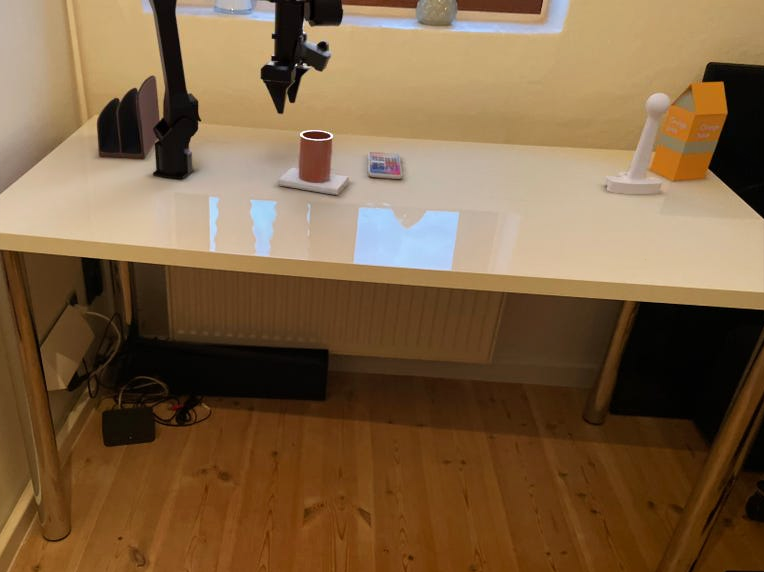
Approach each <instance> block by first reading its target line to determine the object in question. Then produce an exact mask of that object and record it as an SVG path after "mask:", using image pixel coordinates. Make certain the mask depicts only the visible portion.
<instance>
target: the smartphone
mask: <svg viewBox="0 0 764 572" xmlns="http://www.w3.org/2000/svg"><path fill="white" fill-rule="evenodd" d="M402 169H403V168H402V162H401V156H400V155H399V153H392V152H391V153H390V152H380V151H379V152H378V151H369V152H368V153H367V175H368V176H369V177H372V178H380V179H381V178H382V179H392V180H400V179H402V178H403V170H402Z"/></svg>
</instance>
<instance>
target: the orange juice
mask: <svg viewBox="0 0 764 572" xmlns="http://www.w3.org/2000/svg"><path fill="white" fill-rule="evenodd" d="M728 113H729V112H728V106H727V98H726V91H725V84H724V81H705V82H704V81H703V82H691V83H690V84H689V85H688V86H687V88H685V90H684V91H683V92H682V93H681V94H680V95H679V96H678V97H677V98H676V99H675V100H674V101H673V102H672V104H671V103H670V107H669V109H668V111H667V115H666V117H665V121H664V123H663V127H662V130H661V133H660V136H659V139H658V142H657V147H656V149H655V153H654V156H653V160H652V162H651V165H650V169H649V170H650V171H651V172H654V173H655V174H658V175H660V176H662V177H664V178H666V179H668V180H670V181H672V182H678V181H679V182H680V181H691V180H702V179H705V178H706V174H707V172H708V170H709V166H710V164H711V160H712V158H713V155H714V153H715V151H716V148H717V144H718V142H719V139H720V136H721V132H722V130H723V127H724V124H725V122H726V120H727V116H728Z"/></svg>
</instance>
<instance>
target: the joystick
mask: <svg viewBox="0 0 764 572" xmlns="http://www.w3.org/2000/svg"><path fill="white" fill-rule="evenodd" d="M670 105H671V98H670V97H669V96H668V95H667V94H666V93H663V92H657V93H654V94H652V95H651V96H649V97H648V98H647V100H646V102H645V110H646V113H647V117H646V121H645V123H644V127H643V129H642V132H641V134H640V137H639V140H638V143H637V147H636V149H635V152H634V155H633V158H632V160H631V162H630V163H631V164H630V165H629V169H628V171H619V172H618V174H617V176H611V175H606V176H605V178H604V182H603V186H606V191H607V192H609V193H615V194H616V193H617V194H624V195H625V194H626V195H657V194H660V191H661V188H662V185H663V181H661V180H660V179H658V178H657V177H655V176H649V177H647V173H648V169H649V165H650V161H651V157H652V152H653V149H654V145H655V140H656V137H657V132H658V128H659V125H660V121H661V118H662V117H663V116H664V115H665V114H666V113H668V111H669V108H670Z"/></svg>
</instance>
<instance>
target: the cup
mask: <svg viewBox="0 0 764 572" xmlns="http://www.w3.org/2000/svg"><path fill="white" fill-rule="evenodd" d="M298 144H299V146H298V167H297V168H298V177H299V178H300V179H301V180H303V181H306V182H313V183H320V182H326V181H328V180H329V179H330V175H331V174H332V163H333V162H332V161H333V146H334V135H333V133H330V132H328V131H323V130H314V129H313V130H311V129H310V130H304V131H302V132H301V133H299V143H298Z"/></svg>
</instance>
